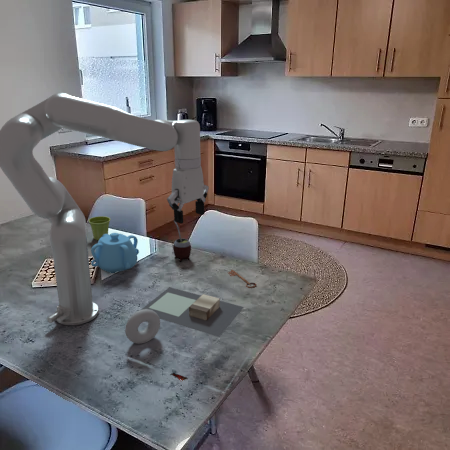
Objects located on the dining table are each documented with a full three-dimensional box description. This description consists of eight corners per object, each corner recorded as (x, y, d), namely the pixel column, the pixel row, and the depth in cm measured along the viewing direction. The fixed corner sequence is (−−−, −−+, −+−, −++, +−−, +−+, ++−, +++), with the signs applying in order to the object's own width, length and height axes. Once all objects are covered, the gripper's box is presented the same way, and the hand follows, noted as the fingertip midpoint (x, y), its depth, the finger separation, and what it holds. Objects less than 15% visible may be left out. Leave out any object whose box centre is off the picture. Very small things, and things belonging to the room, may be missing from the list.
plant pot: (116, 237, 185) (115, 218, 182) (100, 243, 177) (98, 224, 175) (101, 232, 190) (100, 214, 187) (85, 238, 182) (83, 220, 179)
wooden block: (206, 320, 123) (206, 312, 122) (189, 315, 125) (189, 306, 124) (219, 306, 131) (219, 298, 130) (202, 302, 133) (202, 294, 132)
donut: (157, 333, 117) (156, 302, 114) (162, 339, 115) (162, 308, 111) (124, 344, 112) (122, 312, 108) (129, 351, 109) (127, 319, 106)
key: (223, 274, 155) (244, 291, 143) (223, 272, 155) (244, 289, 142) (236, 270, 158) (258, 286, 145) (236, 268, 157) (257, 284, 145)
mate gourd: (188, 263, 161) (188, 228, 156) (169, 261, 162) (168, 226, 157) (192, 255, 168) (192, 221, 163) (174, 254, 169) (173, 220, 164)
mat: (219, 338, 116) (219, 336, 115) (138, 313, 127) (138, 311, 126) (243, 308, 131) (243, 306, 131) (169, 288, 142) (169, 286, 142)
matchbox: (164, 379, 100) (164, 377, 100) (179, 368, 104) (179, 367, 104) (178, 388, 97) (178, 386, 97) (193, 376, 101) (193, 375, 101)
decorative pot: (86, 273, 151) (82, 239, 146) (106, 256, 165) (103, 224, 161) (128, 278, 148) (125, 244, 143) (144, 260, 163) (142, 228, 158)
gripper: (197, 157, 129) (199, 208, 135) (157, 166, 116) (160, 223, 122) (216, 160, 124) (216, 213, 130) (176, 170, 111) (179, 228, 117)
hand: (189, 218), depth 126 cm, fingers open, 9 cm apart
